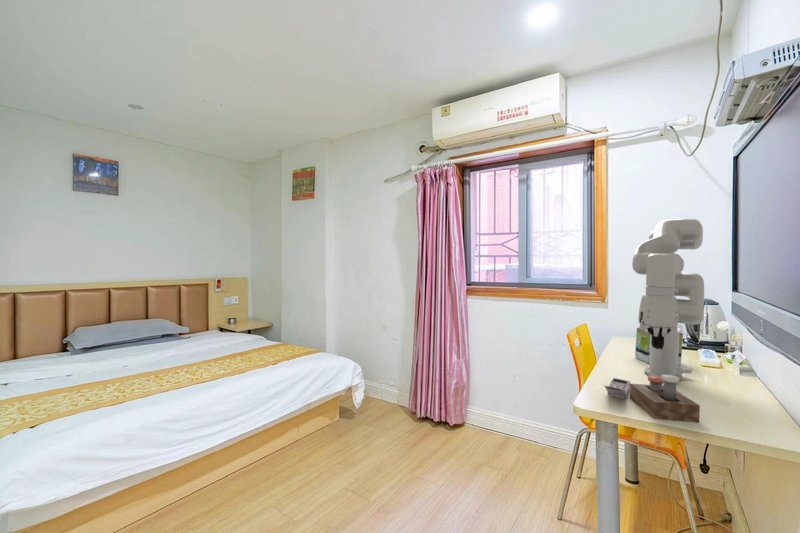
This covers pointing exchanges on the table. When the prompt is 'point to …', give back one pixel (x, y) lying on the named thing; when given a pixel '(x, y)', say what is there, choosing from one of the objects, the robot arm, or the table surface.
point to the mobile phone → (618, 388)
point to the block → (664, 404)
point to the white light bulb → (669, 387)
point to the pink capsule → (655, 383)
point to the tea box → (644, 345)
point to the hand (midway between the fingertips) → (657, 347)
